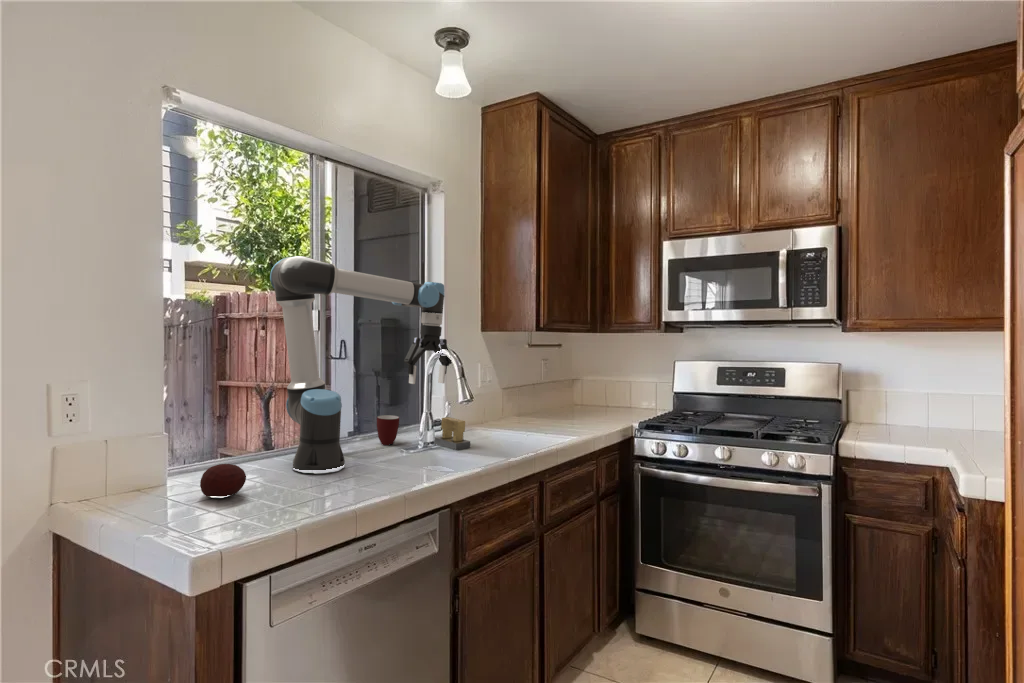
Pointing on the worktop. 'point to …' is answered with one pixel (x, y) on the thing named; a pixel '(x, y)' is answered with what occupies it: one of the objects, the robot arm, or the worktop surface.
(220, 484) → the potato
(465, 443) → the grey flat block
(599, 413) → the worktop surface
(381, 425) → the mug
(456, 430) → the tan wooden arch block
